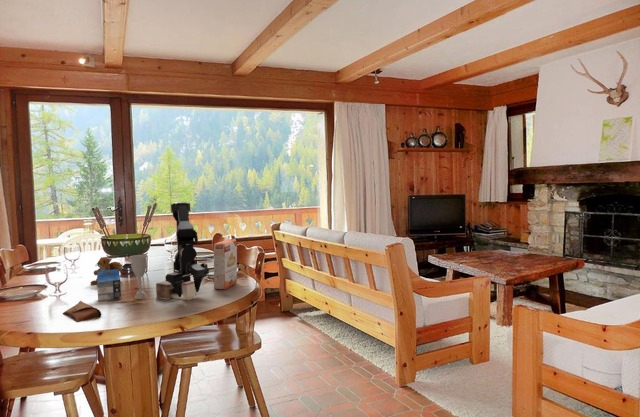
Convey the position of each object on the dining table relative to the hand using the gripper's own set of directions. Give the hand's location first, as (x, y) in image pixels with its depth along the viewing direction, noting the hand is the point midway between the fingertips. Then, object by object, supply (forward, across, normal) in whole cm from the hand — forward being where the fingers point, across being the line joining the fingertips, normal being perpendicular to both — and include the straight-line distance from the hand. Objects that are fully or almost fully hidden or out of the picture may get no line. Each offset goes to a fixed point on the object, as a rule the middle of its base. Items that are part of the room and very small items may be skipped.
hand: (188, 294), depth 189 cm
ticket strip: (+2, 0, +6) cm, 6 cm away
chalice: (+2, -8, +21) cm, 23 cm away
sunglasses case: (+3, -35, +20) cm, 40 cm away
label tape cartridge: (+2, -16, +31) cm, 35 cm away
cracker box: (+2, +24, +2) cm, 24 cm away
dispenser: (+2, 0, +12) cm, 12 cm away
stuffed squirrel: (+2, +3, +62) cm, 62 cm away
